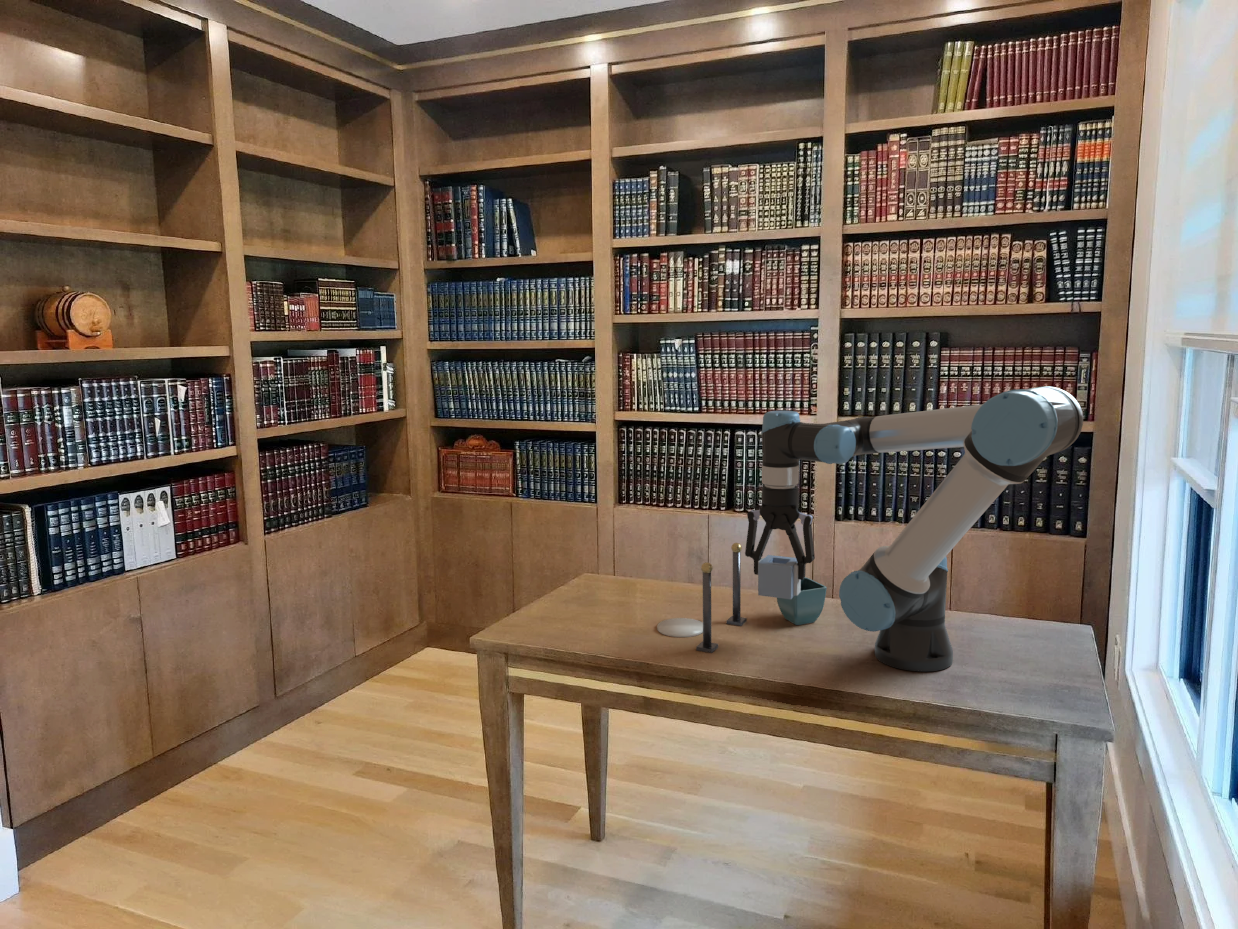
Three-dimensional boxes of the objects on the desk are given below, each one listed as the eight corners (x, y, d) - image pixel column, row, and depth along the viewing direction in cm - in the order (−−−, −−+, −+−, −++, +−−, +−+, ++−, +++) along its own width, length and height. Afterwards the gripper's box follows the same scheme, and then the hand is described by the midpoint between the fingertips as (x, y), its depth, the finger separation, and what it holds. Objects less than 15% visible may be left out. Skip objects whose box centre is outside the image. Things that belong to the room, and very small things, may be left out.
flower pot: (827, 624, 195) (828, 586, 193) (794, 630, 191) (794, 591, 190) (805, 613, 203) (806, 576, 201) (773, 618, 199) (773, 581, 198)
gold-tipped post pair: (746, 621, 198) (746, 541, 195) (712, 653, 179) (711, 565, 176) (732, 619, 199) (731, 540, 196) (696, 650, 181) (695, 563, 178)
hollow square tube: (799, 589, 182) (800, 558, 181) (790, 599, 176) (791, 566, 175) (767, 586, 185) (768, 554, 184) (758, 595, 179) (758, 563, 178)
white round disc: (712, 624, 196) (712, 622, 196) (694, 640, 186) (694, 637, 186) (669, 617, 201) (669, 615, 201) (649, 632, 192) (649, 630, 191)
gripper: (832, 485, 176) (830, 592, 179) (740, 479, 184) (739, 581, 188) (823, 491, 169) (822, 602, 173) (728, 485, 178) (728, 591, 181)
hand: (779, 591), depth 180 cm, fingers closed on hollow square tube, 7 cm apart
